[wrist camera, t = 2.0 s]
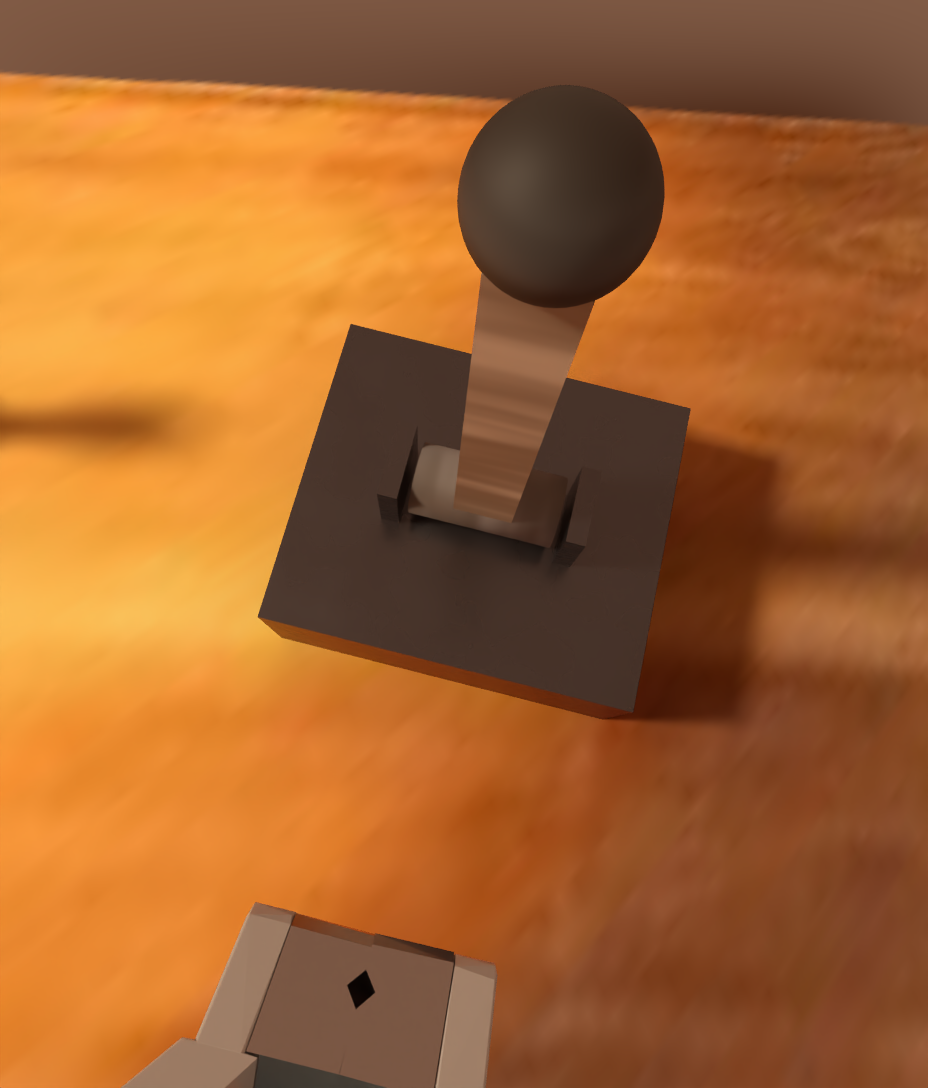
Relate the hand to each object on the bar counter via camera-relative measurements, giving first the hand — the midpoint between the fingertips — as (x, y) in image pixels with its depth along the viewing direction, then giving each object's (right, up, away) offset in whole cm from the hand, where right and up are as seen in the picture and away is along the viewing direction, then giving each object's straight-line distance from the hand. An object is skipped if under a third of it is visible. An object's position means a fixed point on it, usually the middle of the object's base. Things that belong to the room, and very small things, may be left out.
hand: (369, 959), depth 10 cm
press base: (+2, +5, +32) cm, 32 cm away
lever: (+2, +7, +25) cm, 26 cm away
